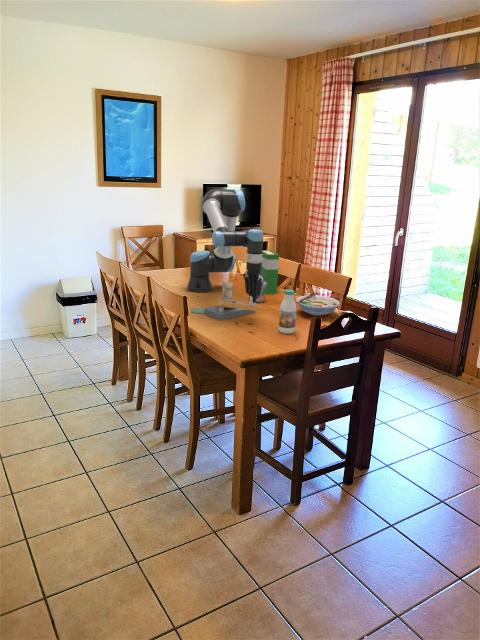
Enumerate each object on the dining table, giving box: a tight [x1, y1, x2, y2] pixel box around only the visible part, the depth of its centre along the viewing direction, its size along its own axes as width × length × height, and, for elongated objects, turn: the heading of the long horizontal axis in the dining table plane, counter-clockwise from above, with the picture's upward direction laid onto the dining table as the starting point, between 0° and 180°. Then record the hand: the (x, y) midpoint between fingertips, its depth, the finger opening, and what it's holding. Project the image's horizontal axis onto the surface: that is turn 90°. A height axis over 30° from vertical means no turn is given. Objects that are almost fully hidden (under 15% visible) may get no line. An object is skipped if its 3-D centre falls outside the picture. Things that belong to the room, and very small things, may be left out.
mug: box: [256, 282, 267, 303], centre depth 287 cm, size 12×9×11 cm
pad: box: [190, 307, 206, 315], centre depth 263 cm, size 9×9×1 cm
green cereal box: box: [260, 248, 280, 295], centre depth 308 cm, size 18×7×24 cm, turn 14°
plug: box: [221, 281, 237, 310], centre depth 260 cm, size 10×10×16 cm
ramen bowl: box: [296, 292, 340, 317], centre depth 265 cm, size 25×23×8 cm
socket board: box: [203, 301, 256, 321], centre depth 261 cm, size 13×24×6 cm, turn 132°
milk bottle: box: [278, 289, 297, 335], centre depth 234 cm, size 8×8×20 cm
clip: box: [217, 300, 259, 312], centre depth 251 cm, size 4×21×2 cm, turn 71°
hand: (252, 308), depth 251 cm, fingers closed
